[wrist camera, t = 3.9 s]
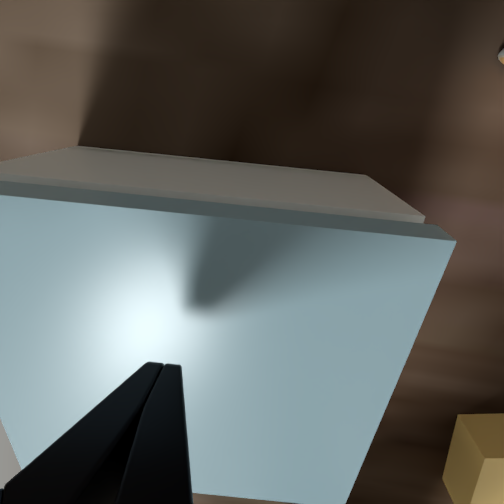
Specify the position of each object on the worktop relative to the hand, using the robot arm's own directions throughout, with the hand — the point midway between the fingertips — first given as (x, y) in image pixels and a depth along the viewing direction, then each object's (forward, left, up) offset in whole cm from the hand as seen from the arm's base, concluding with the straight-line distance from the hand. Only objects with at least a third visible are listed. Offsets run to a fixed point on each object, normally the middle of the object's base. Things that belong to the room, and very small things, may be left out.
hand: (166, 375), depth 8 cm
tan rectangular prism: (-13, -18, -9) cm, 24 cm away
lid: (-2, 0, -3) cm, 3 cm away
